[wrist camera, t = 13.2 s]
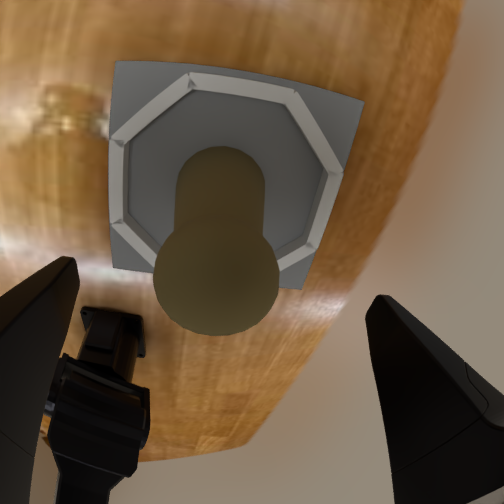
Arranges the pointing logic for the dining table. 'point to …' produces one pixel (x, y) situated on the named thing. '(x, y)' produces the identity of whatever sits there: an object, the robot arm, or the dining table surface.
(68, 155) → the dining table surface
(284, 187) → the collar plate
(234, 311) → the olive brown pawn
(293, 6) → the dining table surface
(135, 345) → the robot arm
